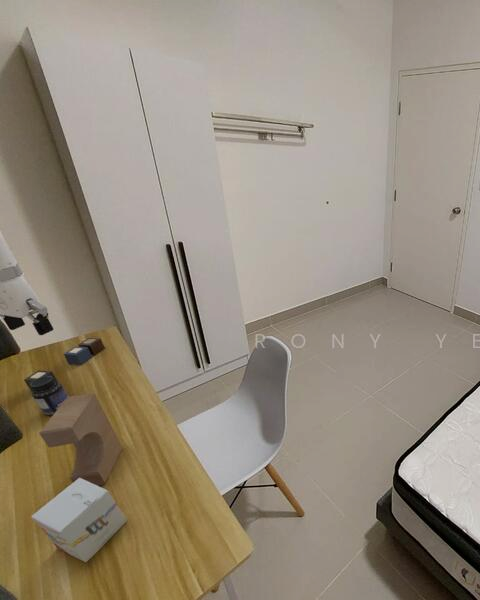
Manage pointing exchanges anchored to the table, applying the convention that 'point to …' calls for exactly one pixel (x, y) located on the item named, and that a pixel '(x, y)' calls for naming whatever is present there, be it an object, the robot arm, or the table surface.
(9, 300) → the robot arm
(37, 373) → the block
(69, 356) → the block
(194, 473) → the table surface
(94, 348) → the block
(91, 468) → the decorative block
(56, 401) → the pill bottle
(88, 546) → the ink box
